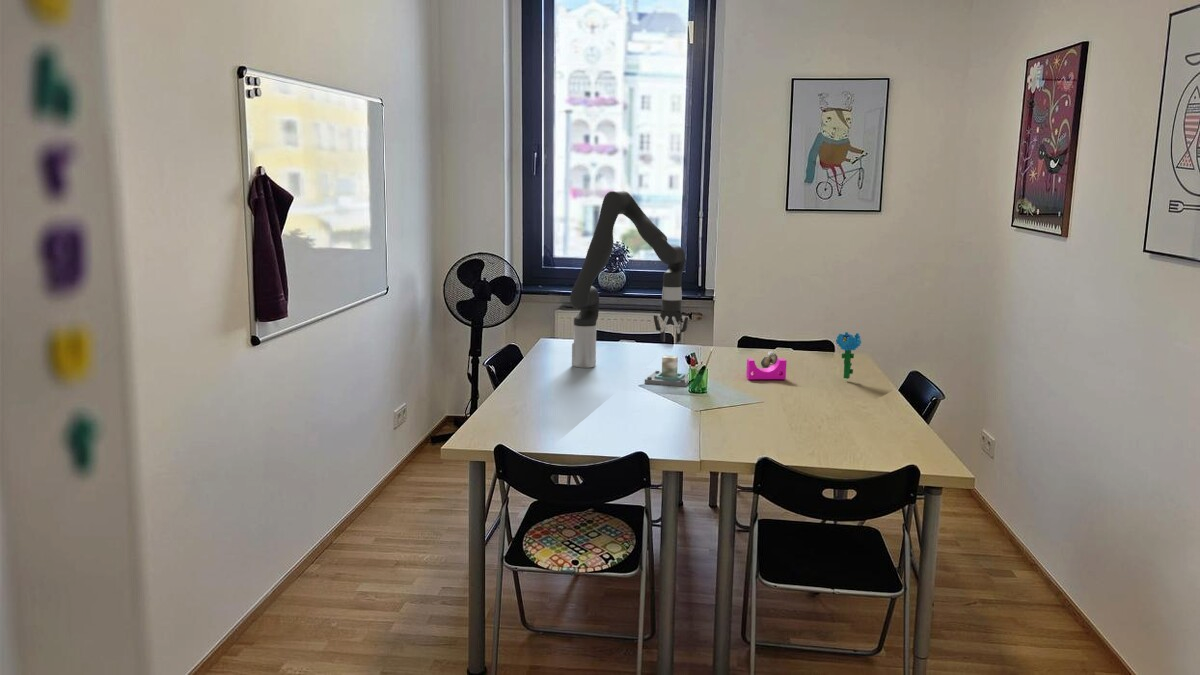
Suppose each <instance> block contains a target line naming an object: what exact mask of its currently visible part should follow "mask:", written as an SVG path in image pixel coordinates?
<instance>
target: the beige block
mask: <svg viewBox="0 0 1200 675" xmlns="http://www.w3.org/2000/svg"><path fill="white" fill-rule="evenodd" d="M678 362H679V361H678V355H664V356H662V358H661V372H662V377H673V378H676V377H677V373H678Z"/></svg>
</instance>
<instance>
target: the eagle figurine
mask: <svg viewBox="0 0 1200 675" xmlns="http://www.w3.org/2000/svg"><path fill="white" fill-rule="evenodd" d="M766 355H767V356H764V357H763V358H762V360H761V362H760V364H761V367H763V369H766V368H768V367H770V366H771V365H775V364H776V362H777V359H779V358H778V355H777V354H776V353H775V351H774V350H769V351H768V352H767V354H766Z"/></svg>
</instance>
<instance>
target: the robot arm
mask: <svg viewBox="0 0 1200 675" xmlns="http://www.w3.org/2000/svg"><path fill="white" fill-rule="evenodd" d="M601 203H602V204H601V208H600V210H599V217H598V221H597V223H596V226H595V228H594V229H595V230H594V232H593V235H592V239H591V241H590V243H589V246H588V248H587V252H586V255H585V259H584V260H583V261H584V262H583V263H582V266H581V269H580V272H579V274H578V276H577V279H576V281H575V282H574V285H573V286H572V290H571V292H570V296H569V297H570V298H569V301H570V304H571V306H572V308H573V309H576V310H580V312H579V313H578V314H577V316H575V317H574V319H573V343H572V344H571V366H572V367H575V368H580V369H581V368H582V369H584V368H585V369H588V368H595V367H596V366H597V348H596V347H597V320H598V318H599V310H600V294H599V292H598V291H599V290H598V289H597V288H596V287H595V286H593V283H594V282H595V280H596V278H597V277H598V276H599V275H600V273H601V272H602V271H604V269H605V267H606V266H607V264H608V263H609V261H610V258H611V255H612V252H613V249H614V227H615V224H616V221H617V219H618V217H619V215H624V216H625V217H626V218H627V219H629V221H631V222H632V223H633V225H634V227H635V228H636V230H637V232H638V234H639V236H640V237H641V239H642V240H644V241H645V243H646V244H648V246H650V248H652V249H653V251H654V253H655V254H656V256H657V257H658V259H659V260H660V261H661V262H662V263H664V264H665V265H667V269H666V271H664V272H663V277H662V293H661V313H660V314H654V315H653V321H654V326H655V330H656V331H658V332H660V341H661V342H662V343H665V342H666V329H667V326H668V325H669V326H670V325H672V326H674V328H675V330H676V340H675V341H676V343H677V344H679V343H680V342H681V341H682V333H685V332H686V331H687V328H688V324H689V320H690V317H689V316H688V315H687V316H686V315H683V314H682V302H683V301H682V298H683V296H682V295H683V292H682V276H683V272H684V267H685V263H686V252H685V250H684V248H683V247H681V246H679V245H674V246H672V245H671V244H670V243H669V242H668V238H667V236H666V235H665V233H664V232H663V231H662V230H661V229H660V228H659V227H658V226H657V225H656V224H655V223H653V222H652V220H651V219H650V218H649V217H648V216H647V214H646V213H645V212H644V211H643V209H641V207H640V205H638V203H637V202H636V201H635V199H634V198H633V196H632V195H631V194H630V193H629V192H628V191H625V190H618V189H617V190H611V191H609V192H607V193H606V194H605V195H604V198H603V200H602V202H601ZM660 319H662V321H663V322H662V325H661V324H660ZM681 320H682V322H683V323H682V324H683V325H682V327H681V324H680V321H681Z"/></svg>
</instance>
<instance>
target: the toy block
mask: <svg viewBox="0 0 1200 675" xmlns="http://www.w3.org/2000/svg"><path fill="white" fill-rule="evenodd" d="M745 378H746V379H747V380H786V378H787V360H786V359H784V358H777V362H776V364H775V365H773V364H770V365H769V367H768V368H758V366H757V365H756V361H755V359H753V358H747V359H746V375H745Z"/></svg>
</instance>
